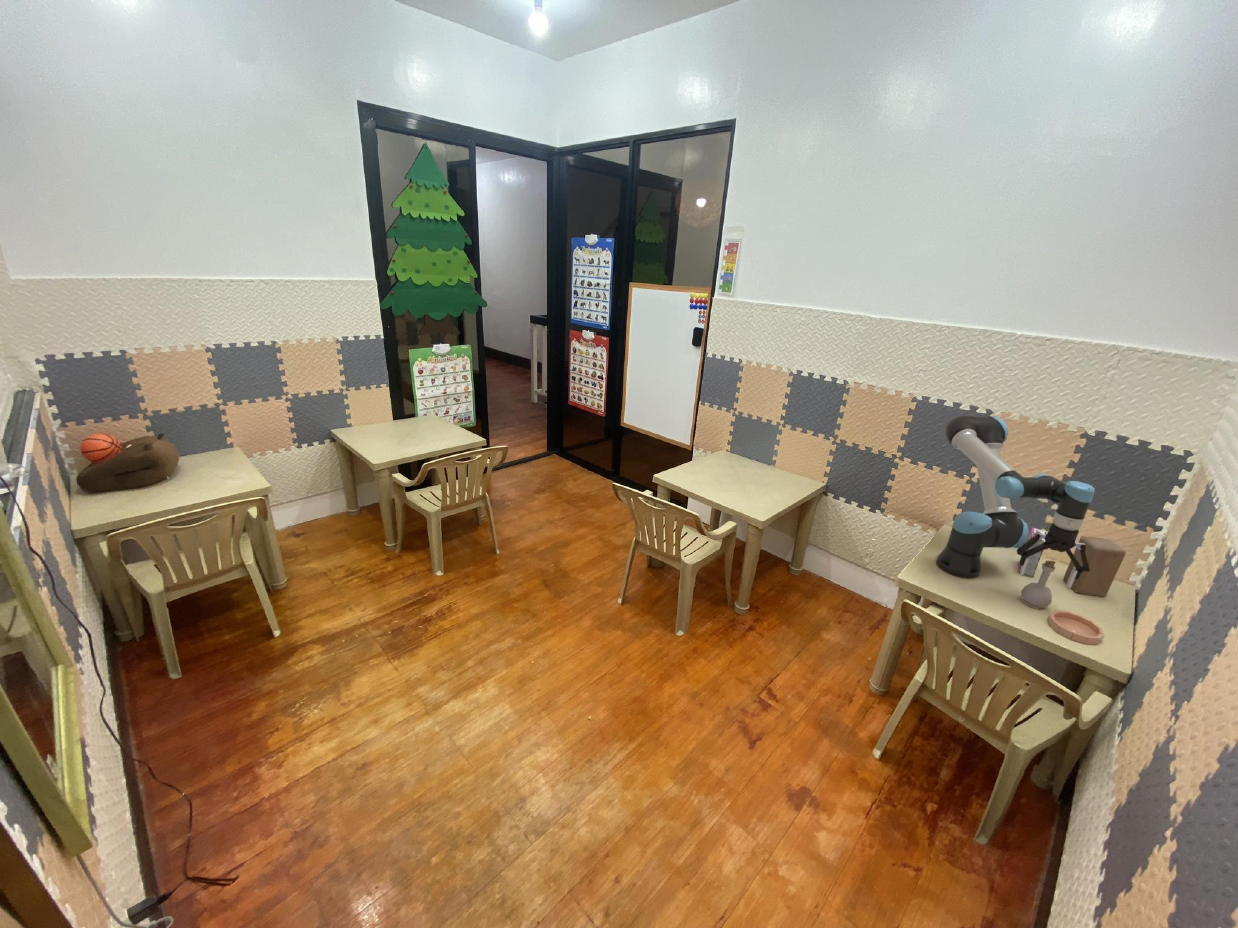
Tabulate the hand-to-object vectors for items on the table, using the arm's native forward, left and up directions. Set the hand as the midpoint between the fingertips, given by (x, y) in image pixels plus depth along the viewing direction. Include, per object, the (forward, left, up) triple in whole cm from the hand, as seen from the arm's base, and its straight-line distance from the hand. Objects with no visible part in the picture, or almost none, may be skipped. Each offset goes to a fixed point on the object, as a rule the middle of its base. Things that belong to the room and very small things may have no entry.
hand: (1044, 579), depth 185 cm
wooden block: (+18, +24, -11) cm, 32 cm away
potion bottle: (0, 0, -11) cm, 11 cm away
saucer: (+10, -11, -10) cm, 18 cm away
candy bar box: (0, +27, -11) cm, 29 cm away
